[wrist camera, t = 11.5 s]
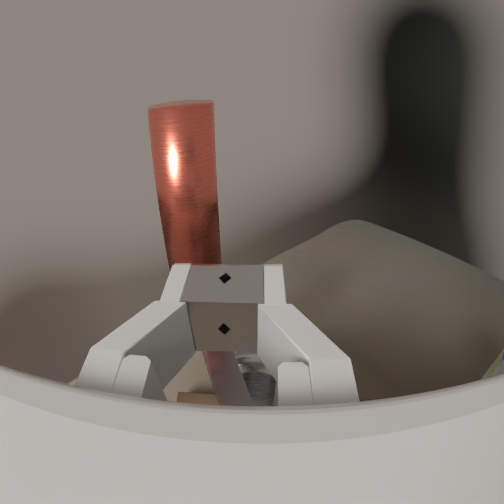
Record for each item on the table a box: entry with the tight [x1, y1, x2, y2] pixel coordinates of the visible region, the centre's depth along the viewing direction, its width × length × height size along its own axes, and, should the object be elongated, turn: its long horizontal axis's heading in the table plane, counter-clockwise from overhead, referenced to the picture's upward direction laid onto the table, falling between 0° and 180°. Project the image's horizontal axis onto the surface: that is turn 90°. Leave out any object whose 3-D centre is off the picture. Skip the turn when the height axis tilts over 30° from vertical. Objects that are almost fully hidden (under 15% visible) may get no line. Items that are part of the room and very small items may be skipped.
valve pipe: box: [234, 352, 276, 406], centre depth 15 cm, size 14×5×7 cm, turn 179°
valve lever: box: [148, 100, 254, 406], centre depth 13 cm, size 3×13×13 cm, turn 19°
